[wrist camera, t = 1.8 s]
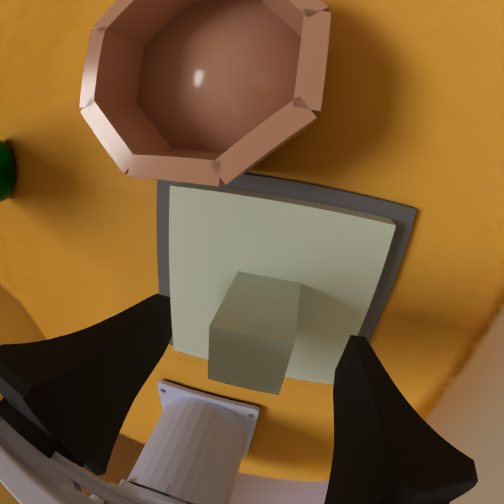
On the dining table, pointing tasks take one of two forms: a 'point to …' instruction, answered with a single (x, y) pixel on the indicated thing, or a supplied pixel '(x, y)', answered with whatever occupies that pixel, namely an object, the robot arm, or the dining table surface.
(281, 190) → the mat
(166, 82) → the bowl
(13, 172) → the soda can
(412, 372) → the dining table surface
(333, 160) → the dining table surface
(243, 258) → the cover
